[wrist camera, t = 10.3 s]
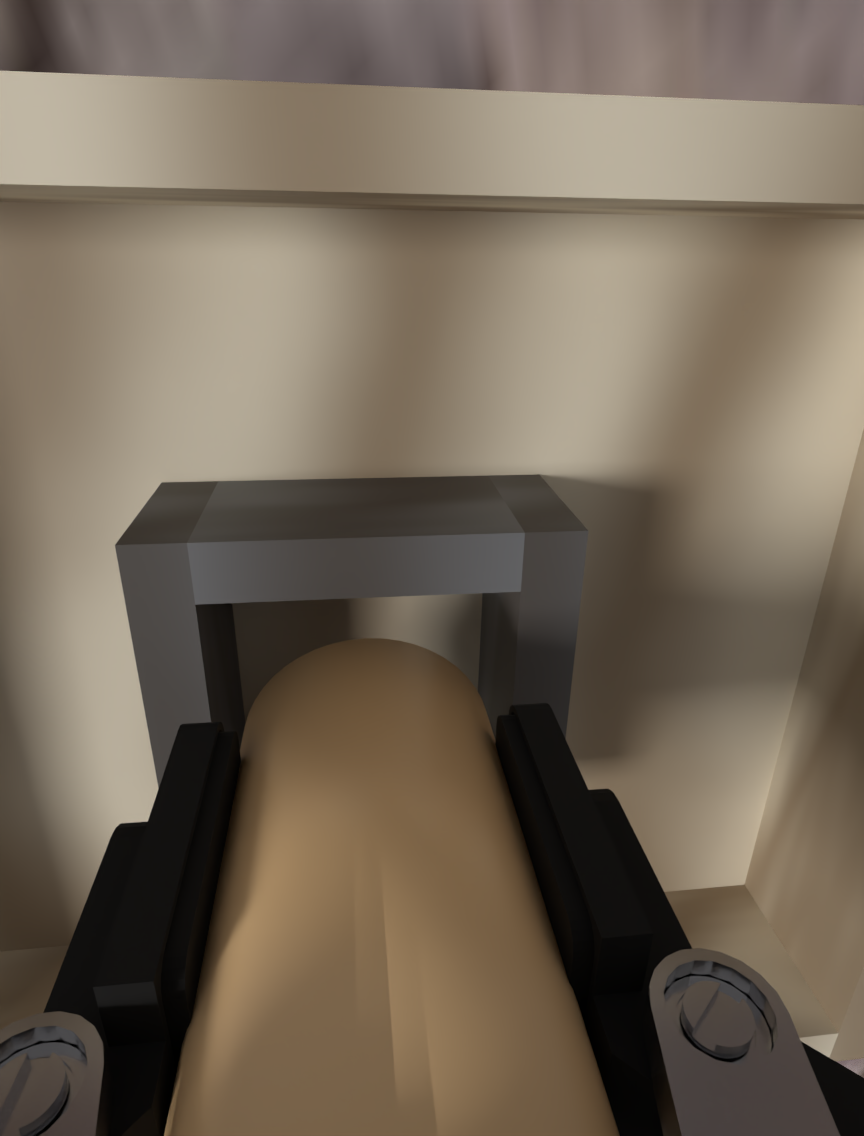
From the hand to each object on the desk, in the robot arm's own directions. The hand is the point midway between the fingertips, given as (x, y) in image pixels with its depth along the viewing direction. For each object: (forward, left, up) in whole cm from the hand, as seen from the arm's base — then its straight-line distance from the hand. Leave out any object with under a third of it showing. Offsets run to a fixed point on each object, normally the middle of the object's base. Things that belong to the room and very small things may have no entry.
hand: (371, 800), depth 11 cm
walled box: (0, 0, -6) cm, 6 cm away
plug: (0, 0, -1) cm, 1 cm away
